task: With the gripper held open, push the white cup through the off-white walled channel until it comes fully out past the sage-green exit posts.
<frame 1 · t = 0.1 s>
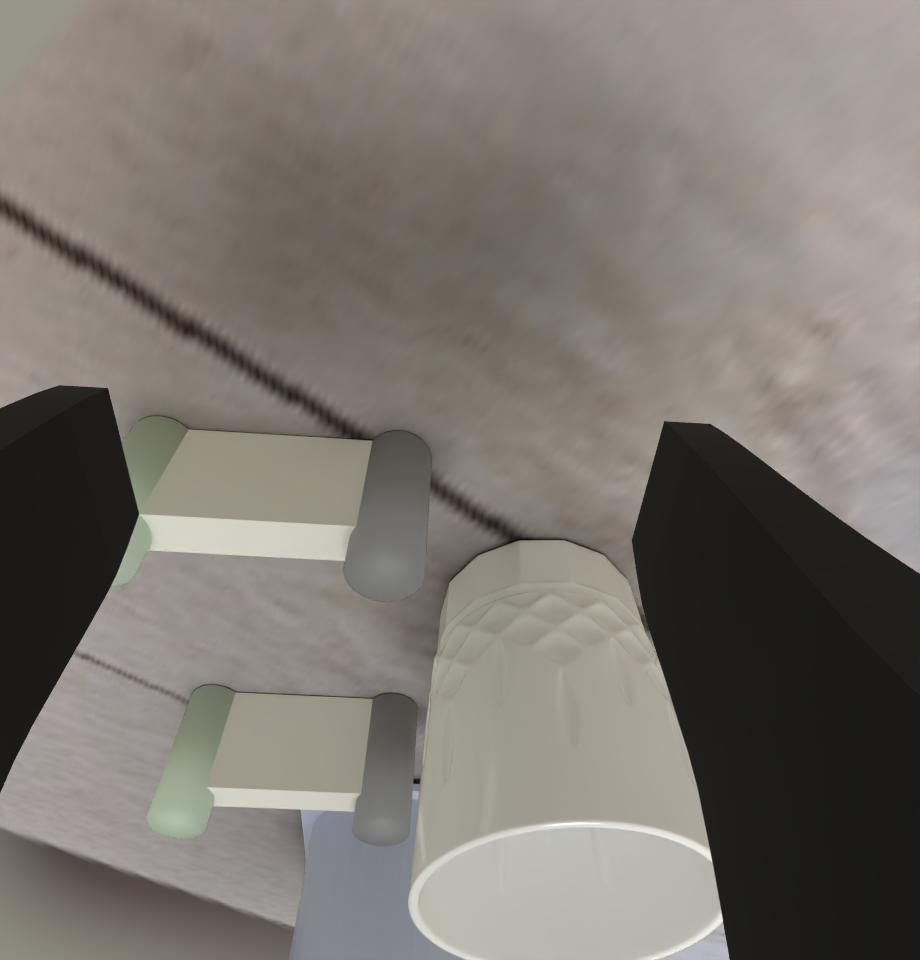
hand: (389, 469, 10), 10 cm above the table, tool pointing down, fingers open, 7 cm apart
white cup: (535, 604, 26), on the table
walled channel: (295, 596, 25), on the table
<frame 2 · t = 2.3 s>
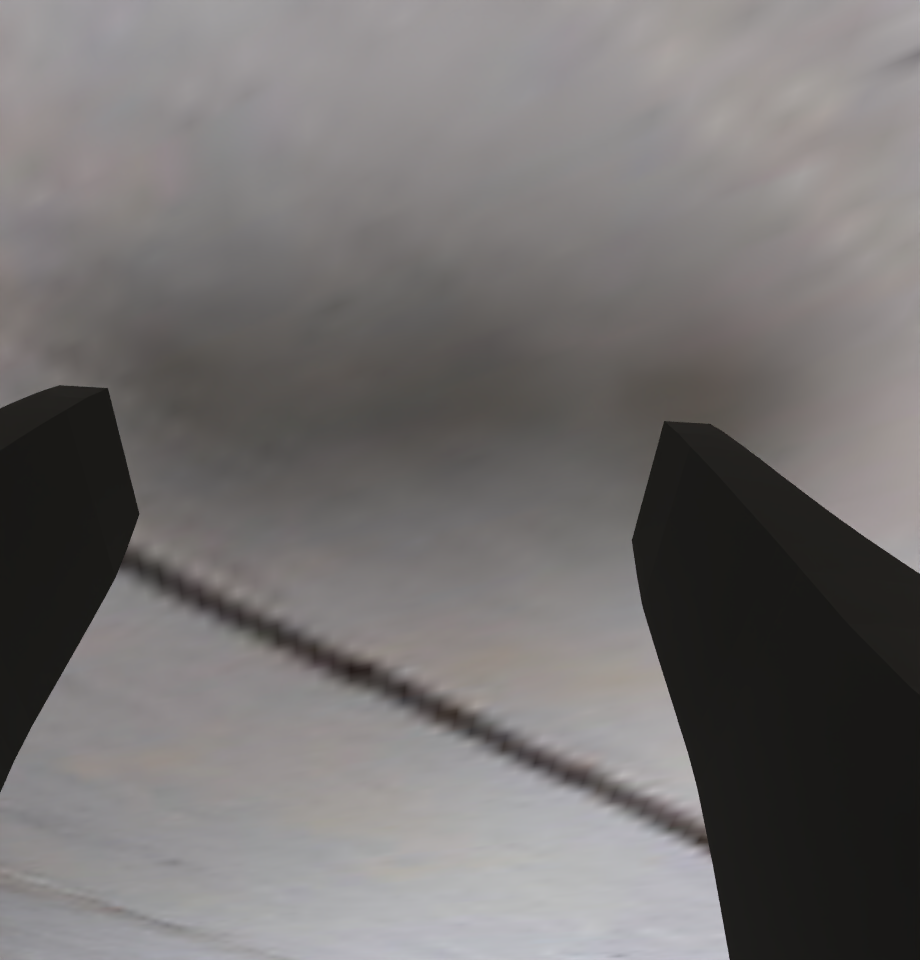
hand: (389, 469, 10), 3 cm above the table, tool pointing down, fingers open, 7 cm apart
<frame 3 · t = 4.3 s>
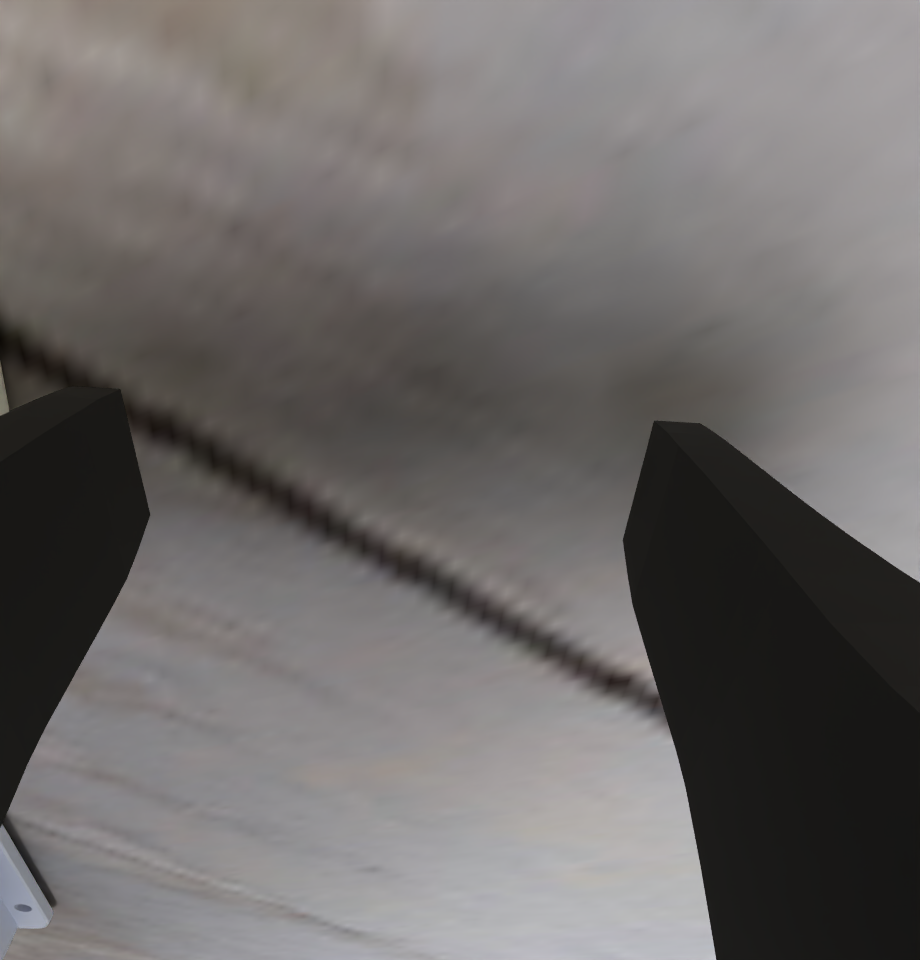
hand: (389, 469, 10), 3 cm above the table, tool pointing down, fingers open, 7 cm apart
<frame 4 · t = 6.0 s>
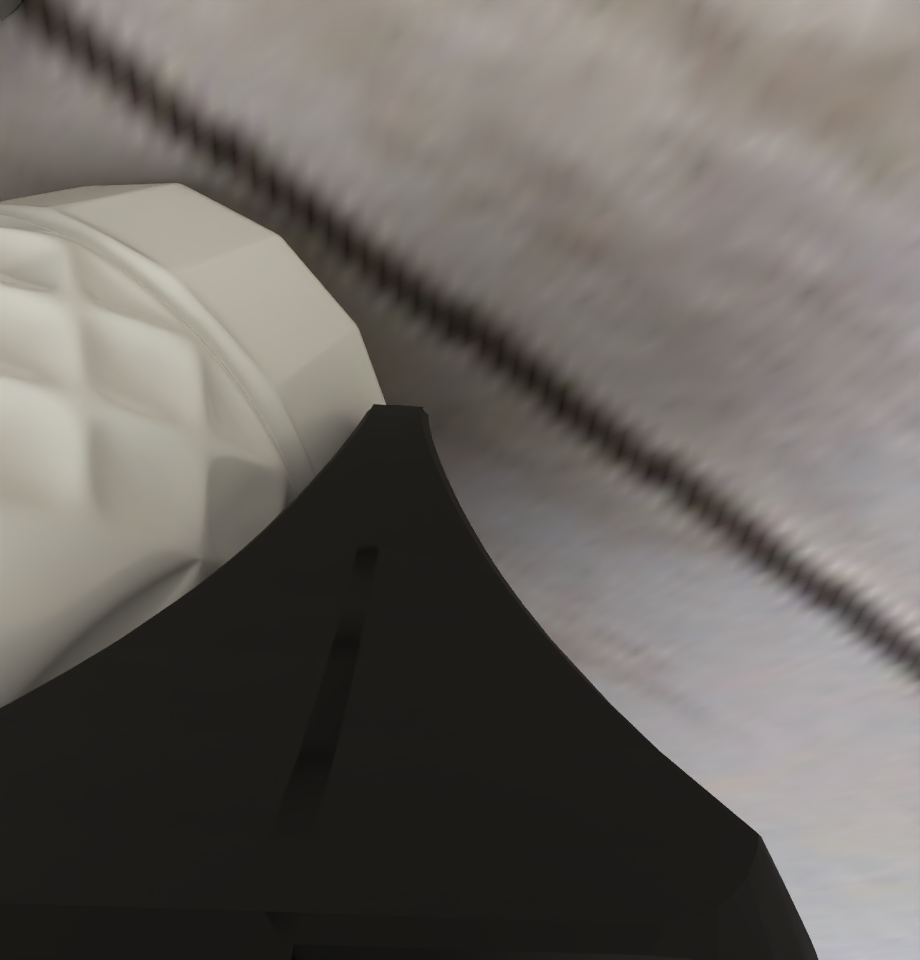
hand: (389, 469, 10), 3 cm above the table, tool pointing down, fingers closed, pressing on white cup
white cup: (215, 399, 12), point 1 cm above the table, touching gripper
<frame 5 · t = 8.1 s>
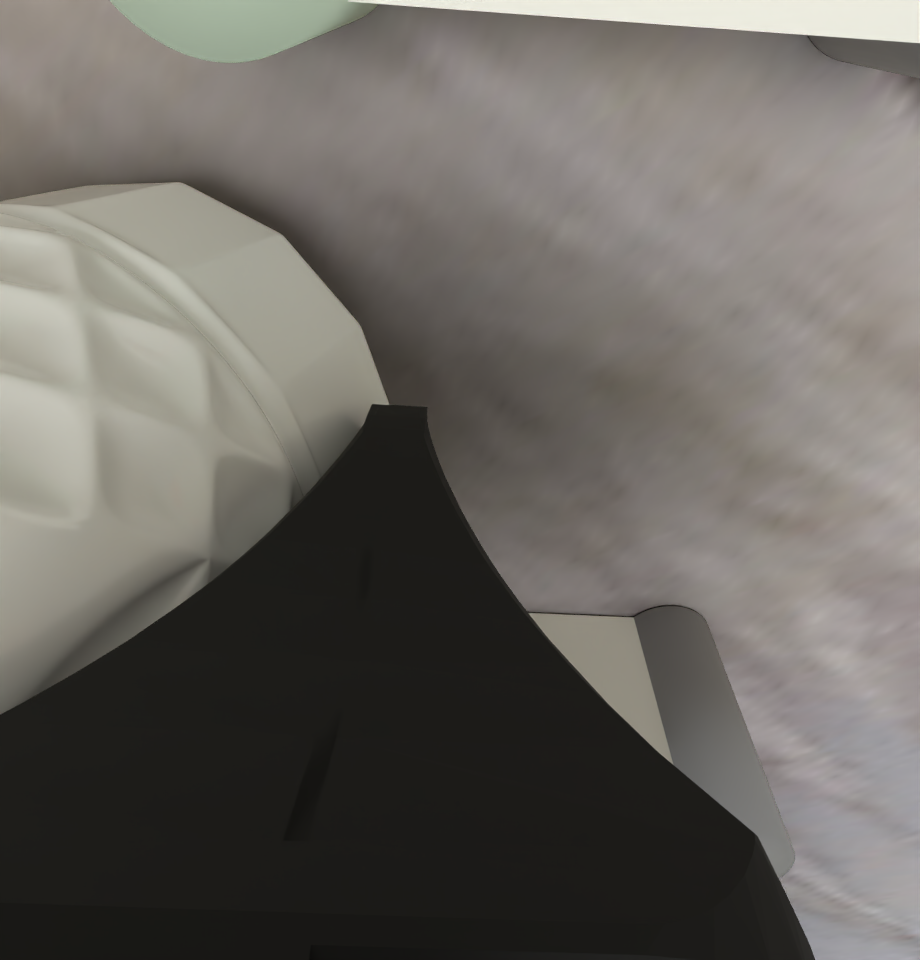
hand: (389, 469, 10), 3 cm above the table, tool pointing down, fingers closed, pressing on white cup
white cup: (216, 398, 11), point 1 cm above the table, touching gripper
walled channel: (543, 387, 12), on the table
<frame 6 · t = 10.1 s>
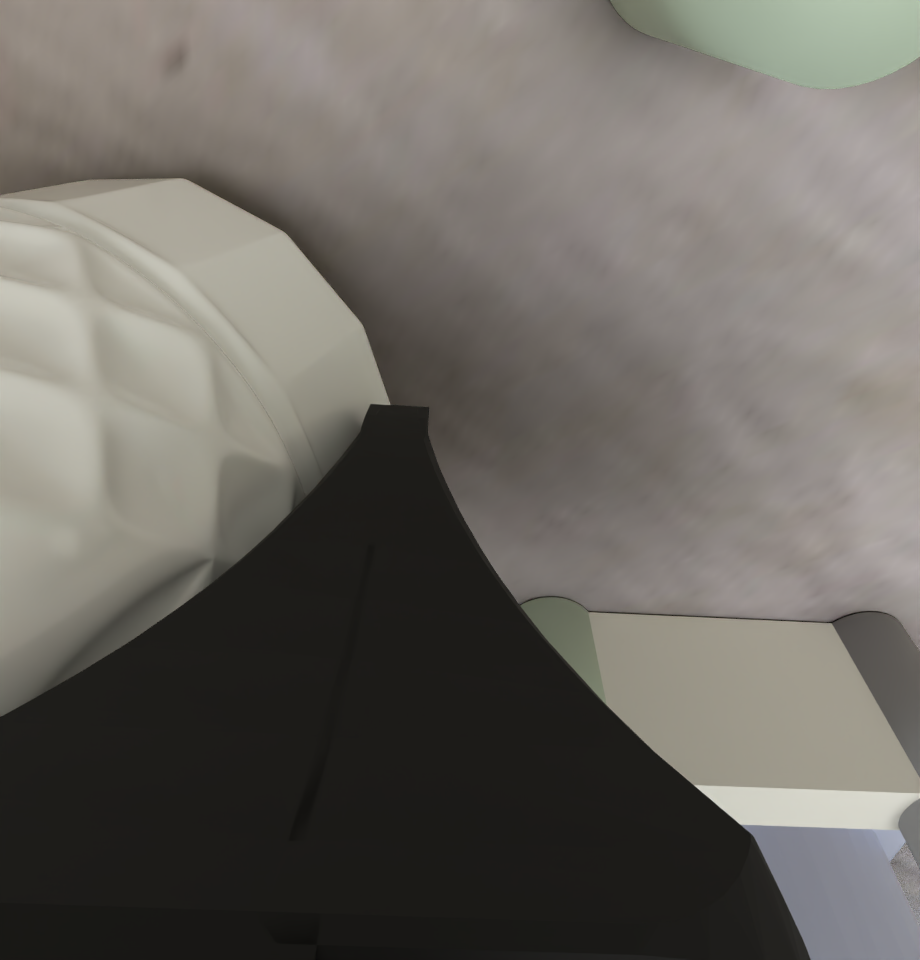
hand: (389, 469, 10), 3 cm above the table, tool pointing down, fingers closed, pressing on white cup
white cup: (216, 395, 11), point 1 cm above the table, touching gripper
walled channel: (794, 396, 12), on the table
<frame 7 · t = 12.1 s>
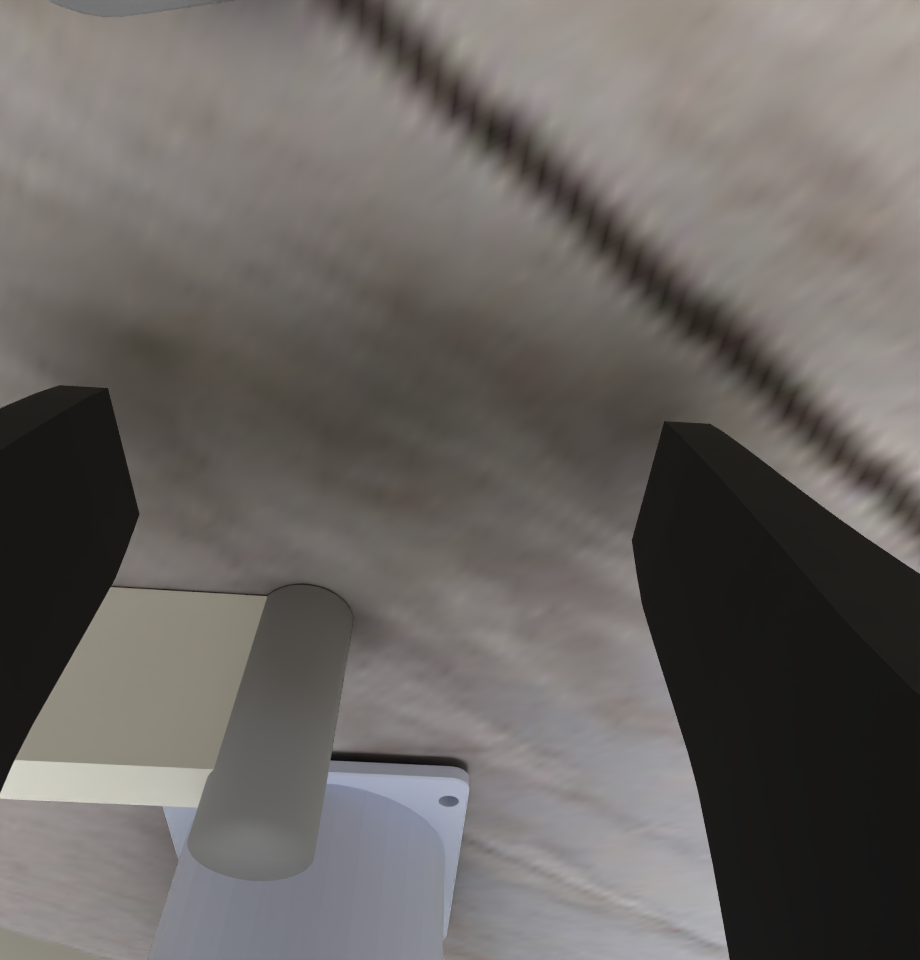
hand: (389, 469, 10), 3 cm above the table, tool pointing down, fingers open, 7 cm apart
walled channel: (75, 347, 12), on the table
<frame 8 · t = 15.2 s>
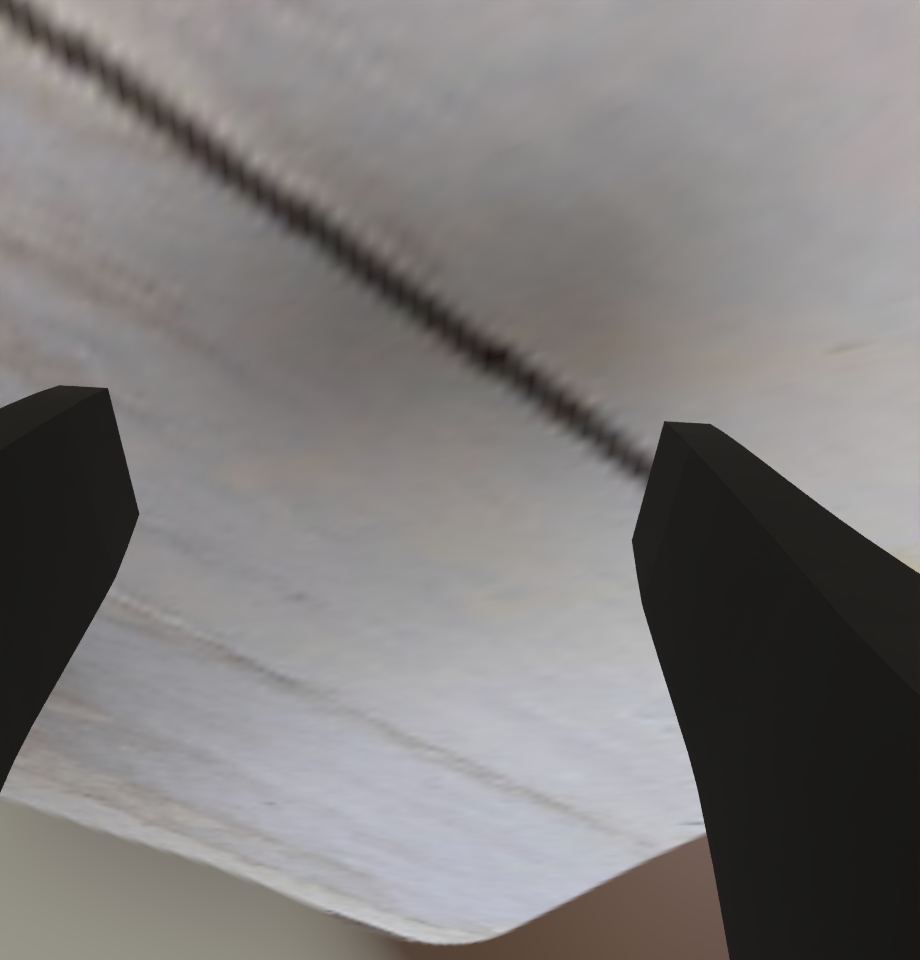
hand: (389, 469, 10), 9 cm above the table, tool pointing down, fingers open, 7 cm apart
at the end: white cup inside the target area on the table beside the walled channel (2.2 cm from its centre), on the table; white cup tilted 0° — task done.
